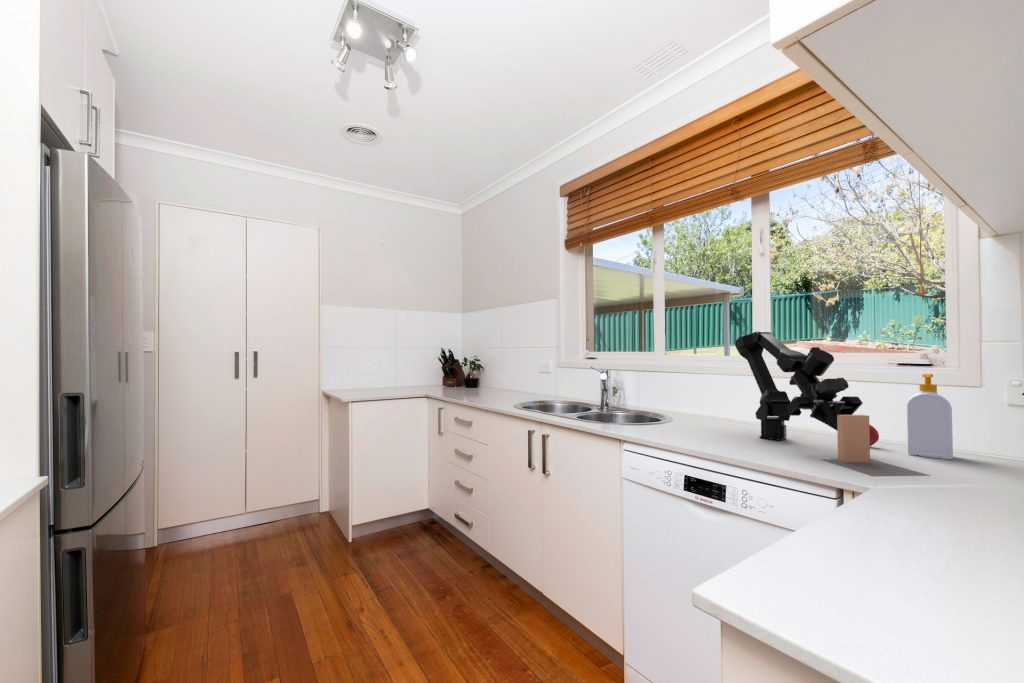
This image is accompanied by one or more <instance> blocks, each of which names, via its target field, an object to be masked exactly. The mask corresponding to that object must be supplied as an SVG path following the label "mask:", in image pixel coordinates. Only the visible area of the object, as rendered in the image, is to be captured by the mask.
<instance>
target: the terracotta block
mask: <svg viewBox="0 0 1024 683" xmlns="http://www.w3.org/2000/svg"><path fill="white" fill-rule="evenodd" d="M869 424H870V415H867V414H866V415H865V414H852V415H837V430H836V432H837V459H838V461H841V462H844V463H849V462H870V459H871V446H870V432H869Z"/></svg>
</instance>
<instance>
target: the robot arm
mask: <svg viewBox="0 0 1024 683" xmlns="http://www.w3.org/2000/svg"><path fill="white" fill-rule="evenodd" d="M734 346H735V349H736V350H737V352H738V354H739V355H740V356H741V357H743V359H745V360H747V363H748V365H749V367H750V370H751V373H752V374H753V376H754V377H753V378H754V380H755V381H756V384H757V387H758V388H759V391H760V394H761V396H760V400H759V404H760V405H759V407H758V409H757V410H756V411H755V418H756V420H759V421H760V436H758V437H765V438H772V439H771V440H773V439H779V440H778V441H782V440H781V439H783V440H785V439H784V438H786V439H787V425H786V424H785V422H786V421H787V422H788V421H790V418H791V416H794V417H795V416H798V417H799V416H800V415H801V414H802V410H804V411H806V410H809V411H810V412H811V413H810V415H809V417H810V418H813V419H815V420H817V421H819V422H821V423H823V424H824V425H827V426H829V427H830V428H832V429H833V430H835V431H837V415H854V414H855V412H856V411H858V409H859V408H860V407H861V406H862V405H863V401H862V400H861V399H860V396H848V395H847V396H842V397H841V398H840V399H839V400H834V399H836V398H837V397H838V395H837V394H838V393H840V392H843V391H845V390H847V389H848V388H849V383H848V381H847V380H846V379H845V378H844V377H837V378H825V379H822V380H820V379H819V377H821V376H824V374H825V373H826V371H828V369H829V368H830V366H831V365H832V363H834V361H835V358H834V356H833V354H832V353H829V352H828V351H826V350H823V349H821V348H820V347H815V346H812V347H811V348H810V350H809V352H808V353H807V354H805V353H803V352H801V351H798V350H793V349H790V348H789V347H787V346H786V345H785V344H784V343H783V342H782V341H780V340H779V339H777V338H776V337H775V336H774V335H773V334H772V332H770V331H768V330H757V331H754V332H752V333H750V334H746V335H741V336H739V337H738V338H737V339H735V342H734ZM764 350H765V351H767V352H768V353H769V354H770V355H771V356H772V357H774V358H775V359H776V365H777V366H778V367H779V369H780V370H781V371H782V372H783V373H794V374H793V375H791V376H790V380H789V385H790V386H797V388H798V389H799V391H800V392H801V393H800V395H799V396H794V397H793V398H792V399H791V400H790V398H789V396H788V393H787V392H786V391H785V390H784V391H783V390H781V391H780V390H779V389H778V388H777V386H776V384H775V382H774V378H773V376H772V375H771V373H770V370H769V367H768V366H767V364H766V361H765V359H764V356H763V352H764ZM801 409H802V410H801ZM765 438H764V439H765Z"/></svg>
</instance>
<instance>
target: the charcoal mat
mask: <svg viewBox="0 0 1024 683" xmlns="http://www.w3.org/2000/svg"><path fill="white" fill-rule="evenodd" d="M821 460H822V461H824V462H828V463H831V464H834V465H837V466H840V467H842V468H846V469H849V470H852V471H856V472H858V473H862V474H863V475H868V476H871V477H911V476H912V477H916V476H917V477H924V476H925V477H927V476H928V477H929V476H931V474H927V473H924V472H921V471H916V470H912V469H909V468H906V467H901V466H899V465H895V464H891V463H888V462H883V461H879V460H876V459H873V458H870V462H849V463H844V462H841V461H838V458H823V459H822V458H820V461H821Z"/></svg>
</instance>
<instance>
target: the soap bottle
mask: <svg viewBox="0 0 1024 683" xmlns="http://www.w3.org/2000/svg"><path fill="white" fill-rule="evenodd" d="M921 377H922V378H924V383H919V388H918V389H919V391H918V393H916V394H913V395H912V396H911V397H909V398H908V400H907V403H906V416H907V419H906V421H907V427H906V428H907V453H908V455H910V456H914V455H919V456H918V457H922V456H923V457H925V458H931V457H932V458H933V459H939V458H941V459H940V460H948V459H950V460H953V458H954V448H953V446H954V445H953V443H954V442H953V440H954V438H953V410H952V409H953V408H952V405H951V402H950V401H949V400H948V399H947V398H946V397H944V396H943V395H940V394H938V385H937V384H934V383H933V384H932V378H934V374H933V373H932V374H931V373H923V374H922V375H921Z"/></svg>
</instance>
